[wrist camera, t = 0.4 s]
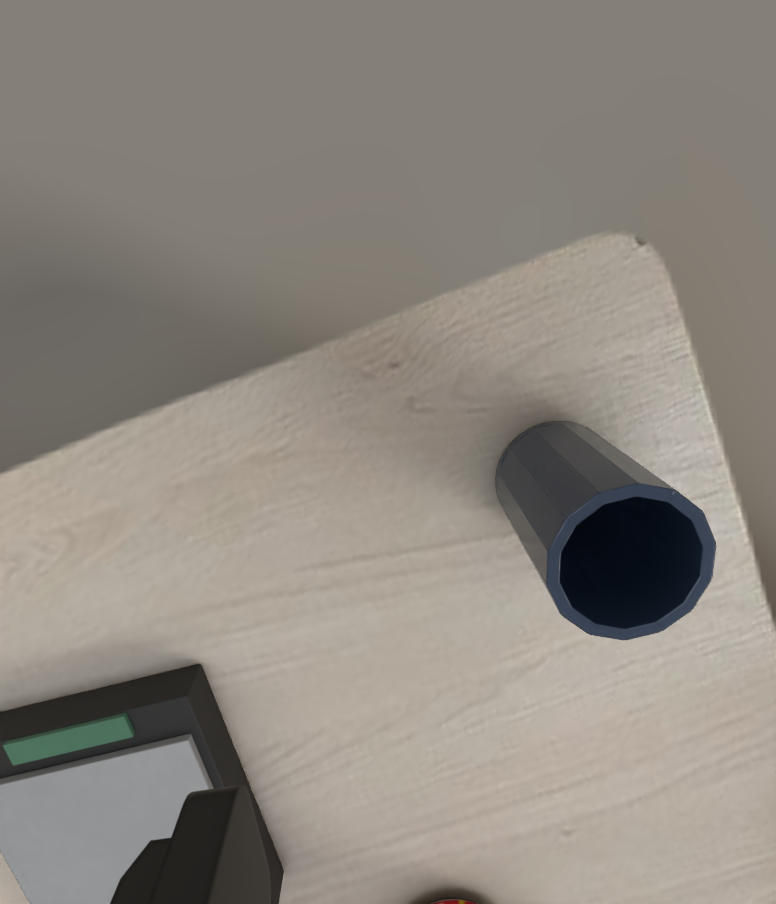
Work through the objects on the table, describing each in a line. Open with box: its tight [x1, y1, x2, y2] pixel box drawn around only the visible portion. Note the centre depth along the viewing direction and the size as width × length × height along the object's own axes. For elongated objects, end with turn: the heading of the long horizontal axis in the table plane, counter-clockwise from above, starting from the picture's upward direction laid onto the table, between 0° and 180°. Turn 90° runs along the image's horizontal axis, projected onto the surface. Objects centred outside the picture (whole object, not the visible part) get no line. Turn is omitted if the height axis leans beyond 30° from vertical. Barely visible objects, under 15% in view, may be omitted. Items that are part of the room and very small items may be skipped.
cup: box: [496, 421, 716, 640], centre depth 24 cm, size 6×6×9 cm
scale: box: [0, 664, 284, 904], centre depth 32 cm, size 14×12×3 cm
